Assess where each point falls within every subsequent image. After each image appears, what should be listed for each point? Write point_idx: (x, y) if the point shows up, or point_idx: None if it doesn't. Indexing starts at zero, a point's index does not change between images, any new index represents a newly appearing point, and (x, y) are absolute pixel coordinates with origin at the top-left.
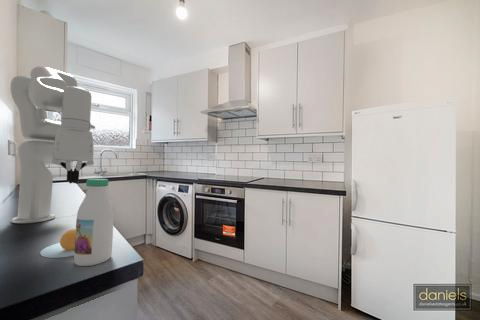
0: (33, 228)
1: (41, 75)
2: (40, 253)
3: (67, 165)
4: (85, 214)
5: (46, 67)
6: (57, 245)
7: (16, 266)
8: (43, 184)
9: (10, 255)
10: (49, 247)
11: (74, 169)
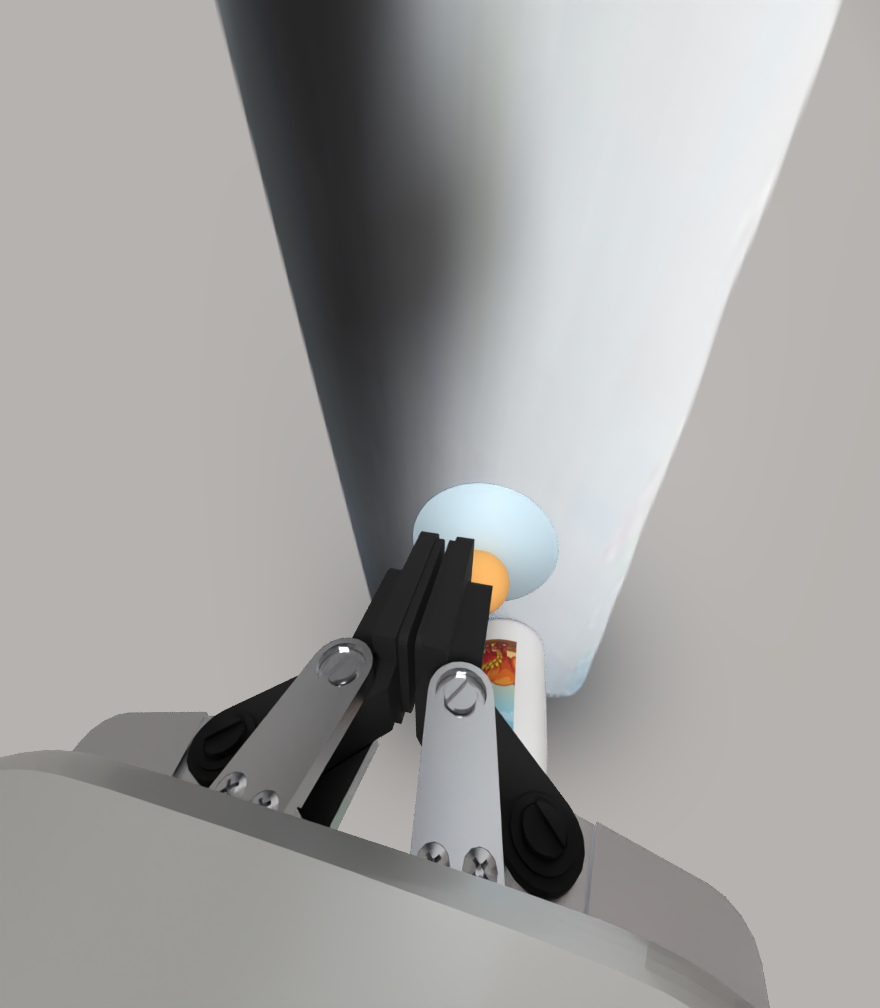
0: (355, 97)
1: None
2: (413, 542)
3: (318, 783)
4: None
5: None
6: (450, 509)
7: (380, 576)
8: None
9: (355, 503)
10: (431, 512)
11: (418, 720)
